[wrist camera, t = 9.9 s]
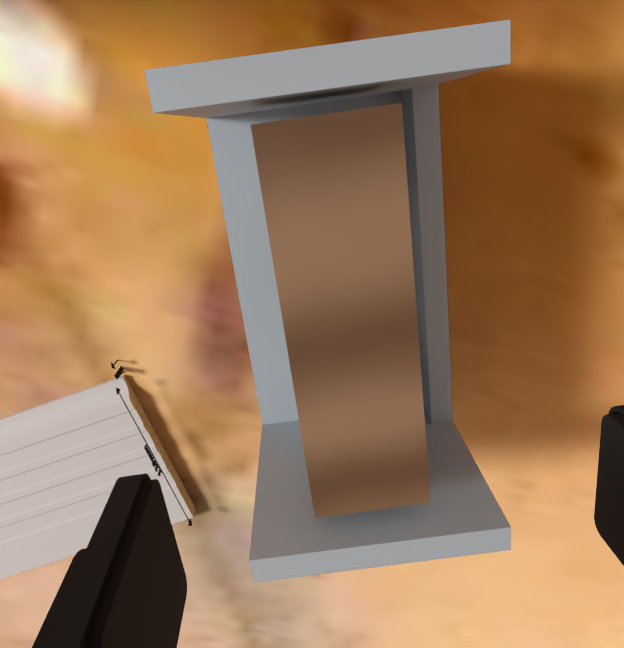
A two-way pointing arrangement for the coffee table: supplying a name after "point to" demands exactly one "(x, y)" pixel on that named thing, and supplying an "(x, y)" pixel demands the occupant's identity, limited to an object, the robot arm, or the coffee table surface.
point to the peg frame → (263, 301)
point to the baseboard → (74, 471)
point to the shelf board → (348, 303)
